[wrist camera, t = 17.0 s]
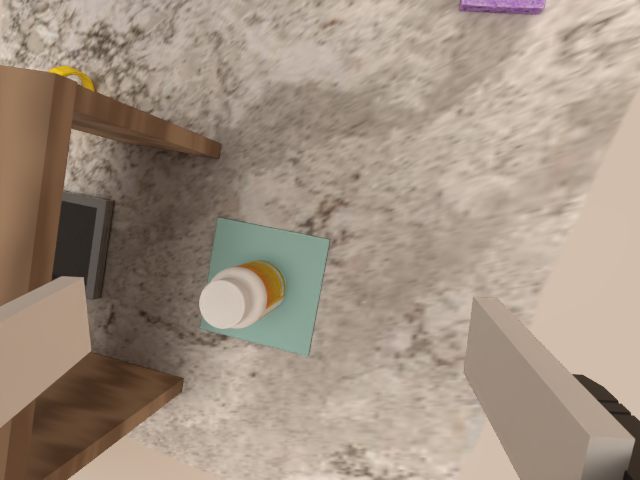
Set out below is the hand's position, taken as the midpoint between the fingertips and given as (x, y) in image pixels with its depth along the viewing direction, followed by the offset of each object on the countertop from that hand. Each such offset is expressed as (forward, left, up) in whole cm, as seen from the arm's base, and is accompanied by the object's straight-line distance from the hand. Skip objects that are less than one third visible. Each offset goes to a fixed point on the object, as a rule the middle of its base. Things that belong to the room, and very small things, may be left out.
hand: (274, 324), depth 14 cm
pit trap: (+21, -26, -27) cm, 43 cm away
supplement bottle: (+9, -6, -27) cm, 29 cm away
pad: (+9, -6, -27) cm, 29 cm away
